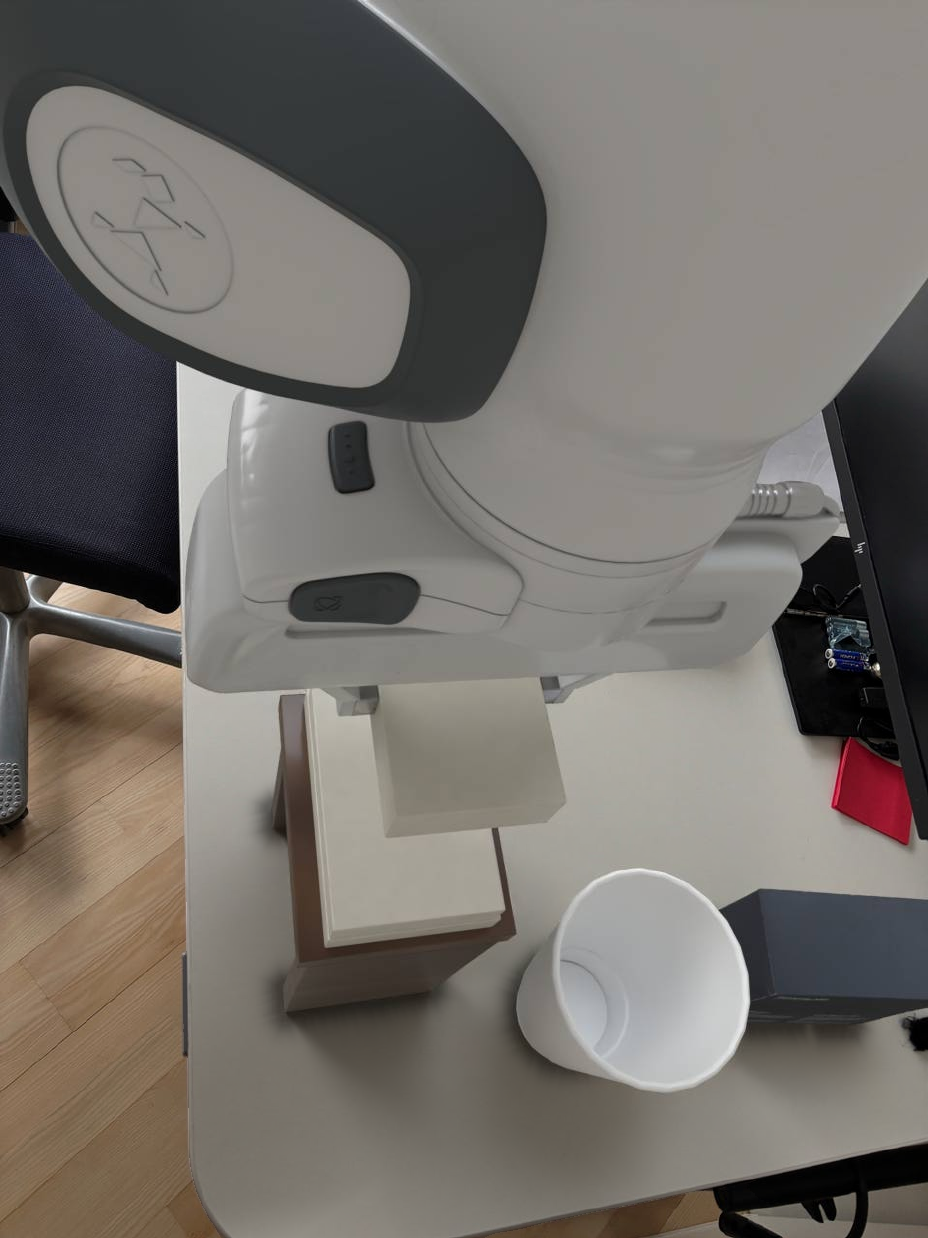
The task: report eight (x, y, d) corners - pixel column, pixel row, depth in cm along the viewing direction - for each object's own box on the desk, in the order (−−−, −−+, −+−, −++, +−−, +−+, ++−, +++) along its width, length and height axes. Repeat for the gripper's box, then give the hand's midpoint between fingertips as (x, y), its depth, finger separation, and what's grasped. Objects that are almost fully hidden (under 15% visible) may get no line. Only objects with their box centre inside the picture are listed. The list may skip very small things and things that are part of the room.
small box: (835, 932, 72) (935, 897, 62) (853, 1026, 69) (962, 1006, 59) (681, 923, 70) (759, 886, 60) (691, 1021, 66) (777, 998, 56)
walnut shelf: (264, 808, 67) (279, 694, 50) (411, 795, 70) (472, 684, 53) (276, 1013, 60) (298, 963, 44) (438, 990, 63) (517, 934, 47)
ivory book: (353, 587, 39) (361, 554, 37) (497, 584, 41) (513, 552, 39) (384, 839, 34) (395, 818, 32) (546, 823, 36) (567, 802, 34)
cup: (542, 1142, 60) (635, 1141, 47) (450, 976, 64) (512, 931, 51) (673, 1041, 65) (792, 1014, 52) (581, 893, 69) (669, 832, 56)
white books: (303, 701, 50) (309, 673, 47) (453, 693, 52) (467, 665, 49) (324, 948, 44) (332, 934, 41) (492, 927, 46) (511, 912, 43)
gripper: (833, 410, 30) (660, 617, 41) (173, 385, 24) (188, 633, 36) (907, 576, 27) (698, 748, 39) (176, 591, 21) (191, 788, 33)
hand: (448, 693), depth 37 cm, fingers closed on ivory book, 6 cm apart
